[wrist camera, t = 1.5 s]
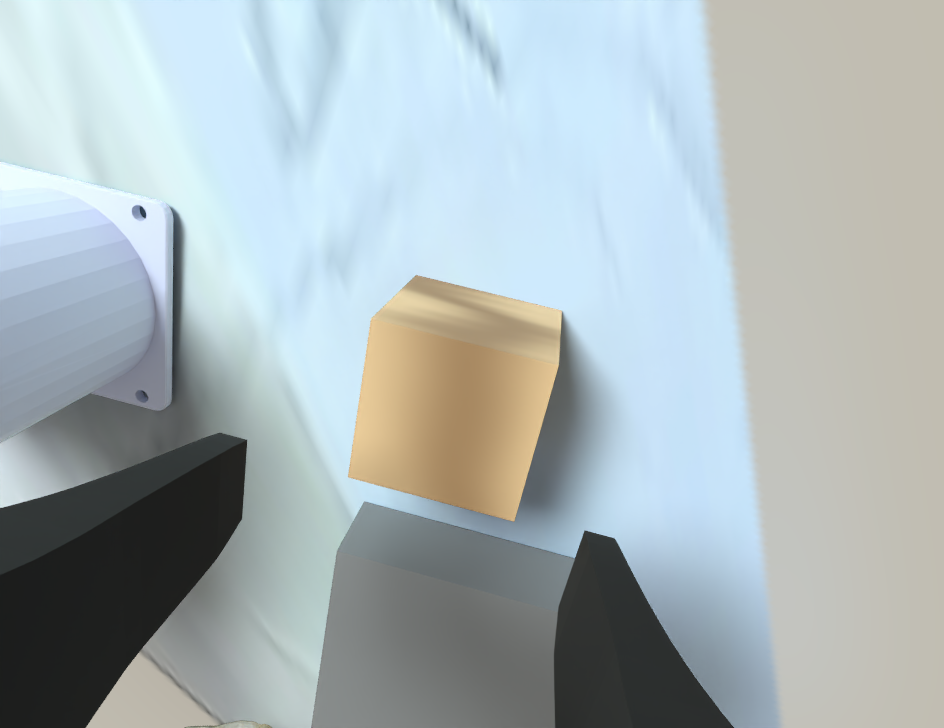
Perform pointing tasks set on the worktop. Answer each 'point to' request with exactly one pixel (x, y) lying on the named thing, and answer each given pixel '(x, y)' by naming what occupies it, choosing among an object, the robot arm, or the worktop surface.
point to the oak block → (455, 395)
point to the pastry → (236, 725)
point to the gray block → (438, 628)
